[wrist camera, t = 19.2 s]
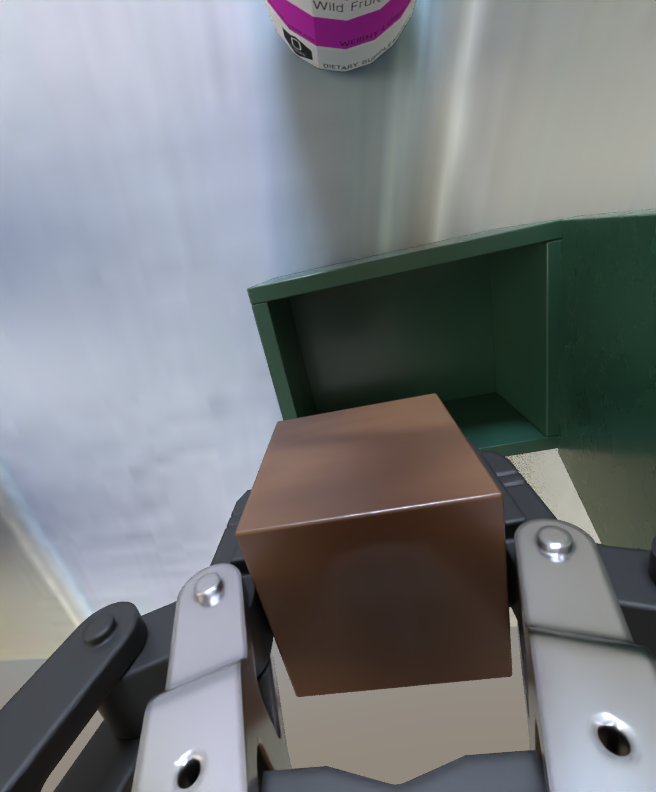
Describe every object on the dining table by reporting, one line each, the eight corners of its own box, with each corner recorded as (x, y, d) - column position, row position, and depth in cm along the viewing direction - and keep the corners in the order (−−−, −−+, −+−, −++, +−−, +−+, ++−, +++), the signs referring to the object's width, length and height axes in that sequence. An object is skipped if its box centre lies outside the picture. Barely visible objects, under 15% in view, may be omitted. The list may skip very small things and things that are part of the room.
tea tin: (311, 429, 29) (302, 489, 22) (273, 278, 25) (246, 288, 18) (502, 396, 27) (561, 447, 20) (495, 228, 23) (566, 218, 16)
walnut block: (311, 543, 12) (295, 699, 8) (276, 421, 11) (232, 533, 6) (451, 523, 12) (513, 678, 8) (436, 392, 10) (504, 493, 6)
